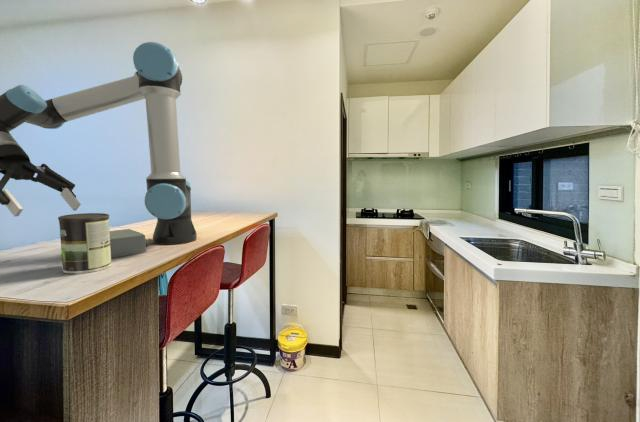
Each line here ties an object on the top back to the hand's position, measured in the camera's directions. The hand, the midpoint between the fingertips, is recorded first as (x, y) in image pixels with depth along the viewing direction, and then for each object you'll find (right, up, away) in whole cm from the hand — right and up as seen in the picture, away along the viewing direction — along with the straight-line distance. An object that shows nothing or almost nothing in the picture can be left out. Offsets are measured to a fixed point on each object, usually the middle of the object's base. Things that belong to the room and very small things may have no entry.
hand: (50, 210), depth 77 cm
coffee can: (+10, -16, 0) cm, 19 cm away
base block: (+6, -13, +15) cm, 21 cm away
